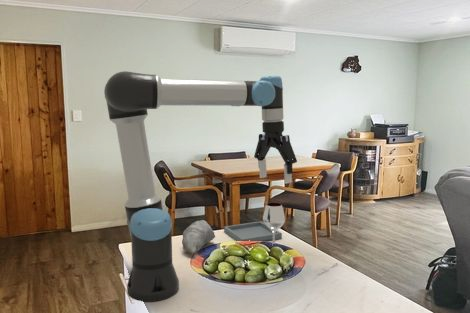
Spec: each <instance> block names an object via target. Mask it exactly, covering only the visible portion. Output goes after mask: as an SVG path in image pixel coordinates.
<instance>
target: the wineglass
mask: <svg viewBox="0 0 470 313" xmlns="http://www.w3.org/2000/svg"><path fill="white" fill-rule="evenodd" d="M262 222H263V223H264V224H265V225H266V226H267V227H268V228H269V229H270V230H271V231H272V233H273V241H272V245H273V244H275V245H276V243H275V242H276V240H275V232H276V231H279V230H280V228H281V227H282V226H284V224H285V222H286V217H285V211H284V207H283V205H282V203H280V202H267V203H266V205H265V207H264V211H263V216H262Z"/></svg>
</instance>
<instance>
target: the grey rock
mask: <svg viewBox="0 0 470 313" xmlns="http://www.w3.org/2000/svg"><path fill="white" fill-rule="evenodd" d="M215 238H216V235H215V231H214V230H213V229H212V227H211V225H210V224H208V222H207V221H206V220H203V219H201V220H196V221H194V222H192V223H191V224H190V225H189V226H188V227H186V229H184V230H183V232H182V240H181V244H182V248H183V250H184V251H185V252H186V253H187V254H190V255H191V254H192V255H195V254H196V253H198V252H199V251H201V249H202V247H204V246H205V245H206V244H207V243H209V242H211V241H213V240H214V239H215ZM197 251H198V252H197Z"/></svg>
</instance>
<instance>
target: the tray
mask: <svg viewBox="0 0 470 313" xmlns="http://www.w3.org/2000/svg"><path fill="white" fill-rule="evenodd" d="M223 233H225V235H227V236H229V237H230V238H231V239H232V240H234V241H235V240H236V241H249V240H250V241H267V242H273V233H272V231H271V230H270V229H269V228H268V227H267V226H266V225H265V224H264V222H263V221H261V220H260V221H253V222H247V223H240V224H233V225H226V226H223ZM282 239H283V234H282V232H281V231H279V230H277V231H276V232H275V241H279V240H282ZM236 241H235V242H236Z"/></svg>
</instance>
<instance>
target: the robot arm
mask: <svg viewBox="0 0 470 313" xmlns="http://www.w3.org/2000/svg"><path fill="white" fill-rule="evenodd" d="M104 86H105V87H104V91H103V92H104V94H103V95H104V98H105V101H106V105H107V112H108V117H109V121H111V122H112V123H114V124H115V129H116V132H117V139H118V144H119V152H120V156H121V164H122V167H123V168H122V169H123V174H124V180H125V185H126V192H127V197H128V198H127V200H126V202H125V203H124V210H125V213H126V214H125V215H126V224H127V227H128V231H129V234H130V239H131V240H130V241H131V261H132V262H131V263H132V265H131V266H132V267H131V271H130V274H129V278H128V281H127V286H126V290H127V292H126V293H127V295H128V297H129V298H131V299H132V300H135V301H138V302H157V301H162V300H166V299H168V298H171V297H173V296H174V295H175V294H177V292H178V291H179V288H180V284H179V283H180V281H179V277H178V275H177V271H176V269H175V267H174V263H173V243H172V242H173V240H172V235H173V234H172V228H173V223H172V217H171V215H170V213H169V212H168V211H166V210H165V209H164V208H163V203H162V202H163V201H162V198H161V196H159V195H158V194H157V193H156V190H155V184H154V176H153V169H152V164H151V158H150V152H149V151H150V150H149V146H148V139H147V133H146V132H147V131H146V126H145V119H146V118H147V116H149V115H148V110H157V109H158V108H160V106H201V107H202V106H206V107H207V106H210V107H211V106H227V107H228V106H229V107H230V106H231V107H244V106H245V107H254V106H255V107H261V121H263V122H261V124H262V125H261V126H262V133H259V134H258V142H257V144H256V149H255V152H254V157H253V158H254V159H256V160H257V161H258V169H259V179H264V178H267V177H268V176H267V160H266V157H267V155H268V153H269V151H270V150H271V148H275V149H276V150H277V151H278V153H279V154H280V156H281V158H282V160H283V162H284V164H283V172H284V173H283V176H284V178H283V179H284V184H291V183H293V177H292V176H293V164H295V163H297V162H298V160H297V157H296V155H295V152H294V149H293V146H292V143H291V138H290V135H289V134H288V135H287V134H286V135H283V132H284V131H285V124H284V123H285V122H284V94H283V92H284V91H283V90H284V87H283V80H282V77H281V76H280V75H270V76H268V75H266V76H262V77H260V79H259V80H227V79H226V80H225V79H224V80H223V79H195V78H194V79H189V78H187V79H186V78H160V77H159V76H158V74H149V73H148V74H147V73H138V72H133V71H120V72H115V73H114V74H113V75H112V76H111V77H110V78H109V79H108V80H107V82H106V84H105V85H104Z"/></svg>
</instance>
